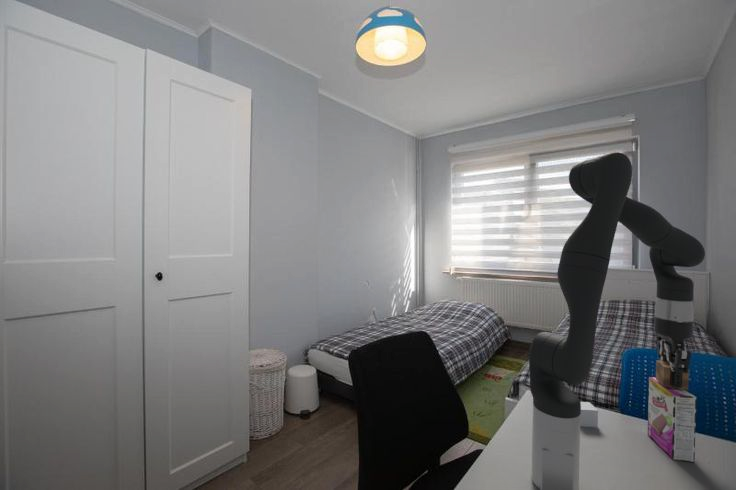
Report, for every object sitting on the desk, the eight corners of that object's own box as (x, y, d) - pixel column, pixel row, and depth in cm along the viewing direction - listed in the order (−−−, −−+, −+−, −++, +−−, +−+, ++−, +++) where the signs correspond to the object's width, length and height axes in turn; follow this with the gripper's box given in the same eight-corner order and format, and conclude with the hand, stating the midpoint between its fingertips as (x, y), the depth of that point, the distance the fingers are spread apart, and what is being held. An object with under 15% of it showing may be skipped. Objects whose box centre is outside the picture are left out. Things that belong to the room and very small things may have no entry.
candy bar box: (645, 434, 97) (647, 376, 96) (666, 436, 96) (668, 377, 95) (672, 460, 86) (674, 394, 85) (695, 463, 85) (698, 396, 84)
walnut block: (688, 389, 87) (689, 369, 87) (663, 386, 89) (663, 366, 89) (679, 381, 91) (680, 362, 91) (655, 378, 93) (656, 360, 93)
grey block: (597, 427, 100) (598, 410, 100) (579, 426, 101) (579, 409, 101) (589, 418, 105) (589, 402, 105) (571, 417, 106) (571, 401, 106)
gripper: (645, 309, 97) (643, 370, 98) (666, 321, 84) (664, 391, 85) (679, 312, 95) (677, 374, 95) (707, 325, 81) (704, 397, 82)
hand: (671, 382), depth 90 cm, fingers closed on walnut block, 4 cm apart
